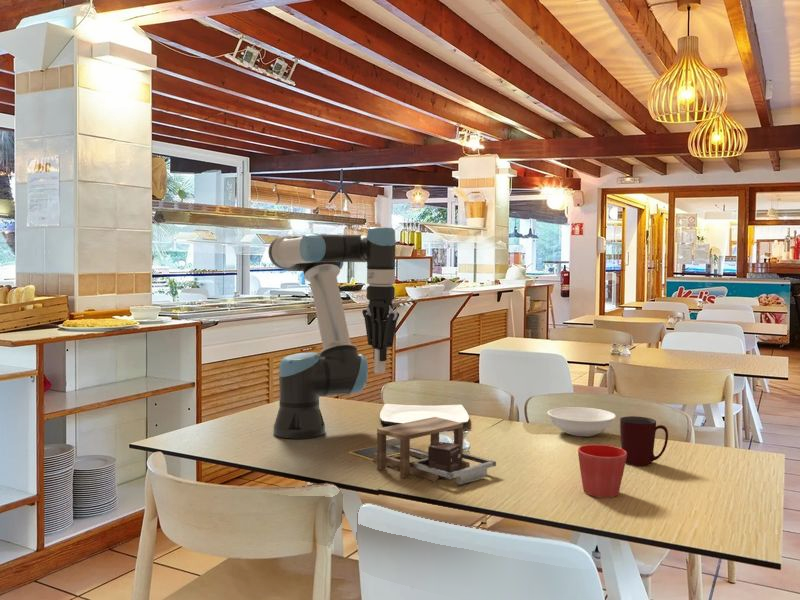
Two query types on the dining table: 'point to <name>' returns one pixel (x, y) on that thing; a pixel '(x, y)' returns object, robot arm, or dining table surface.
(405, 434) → the tunnel
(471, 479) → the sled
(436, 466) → the box
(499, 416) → the dining table surface
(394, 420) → the plate
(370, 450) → the mat
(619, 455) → the flower pot
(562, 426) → the bowl
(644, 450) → the mug
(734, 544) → the dining table surface
